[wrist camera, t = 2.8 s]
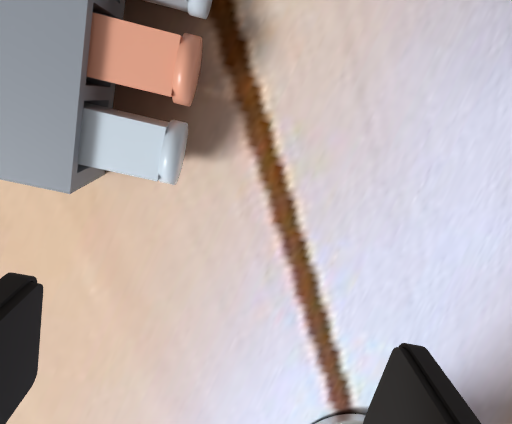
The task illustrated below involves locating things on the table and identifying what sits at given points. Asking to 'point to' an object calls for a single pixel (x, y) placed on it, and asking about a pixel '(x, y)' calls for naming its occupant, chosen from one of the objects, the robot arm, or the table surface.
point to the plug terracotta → (144, 58)
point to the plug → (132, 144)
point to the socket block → (48, 90)
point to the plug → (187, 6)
